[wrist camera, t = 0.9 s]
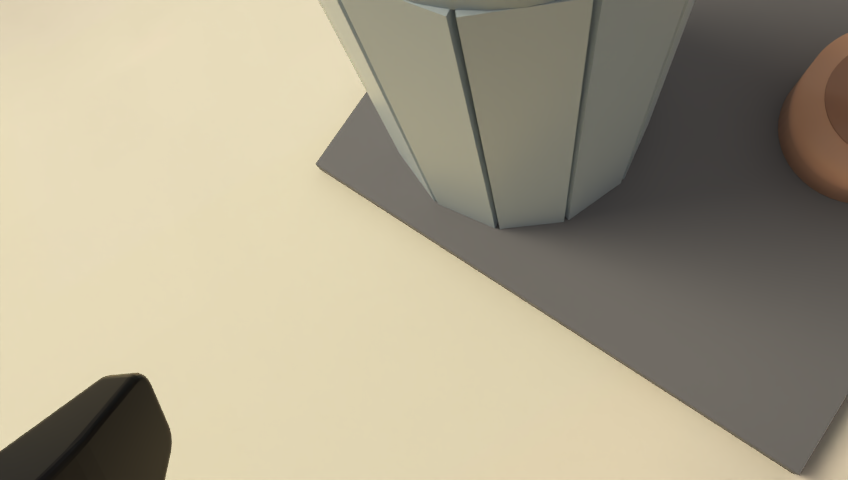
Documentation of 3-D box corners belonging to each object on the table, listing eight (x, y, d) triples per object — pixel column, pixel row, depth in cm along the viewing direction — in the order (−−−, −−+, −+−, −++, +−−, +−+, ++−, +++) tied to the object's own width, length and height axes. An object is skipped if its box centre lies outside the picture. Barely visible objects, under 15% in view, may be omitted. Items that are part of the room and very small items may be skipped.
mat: (793, 473, 19) (799, 474, 19) (320, 169, 23) (315, 164, 22) (1042, 56, 21) (1055, 48, 20) (559, -170, 24) (560, -182, 24)
